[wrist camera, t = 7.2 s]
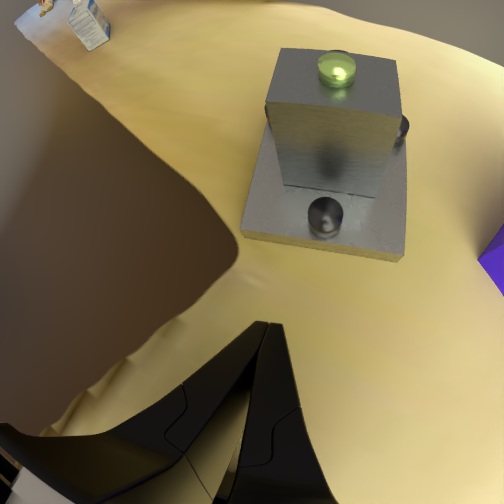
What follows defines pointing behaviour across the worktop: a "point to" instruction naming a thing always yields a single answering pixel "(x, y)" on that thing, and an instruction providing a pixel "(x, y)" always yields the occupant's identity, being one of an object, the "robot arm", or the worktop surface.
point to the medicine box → (89, 24)
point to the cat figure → (45, 6)
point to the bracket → (495, 259)
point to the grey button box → (334, 118)
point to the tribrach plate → (358, 210)
